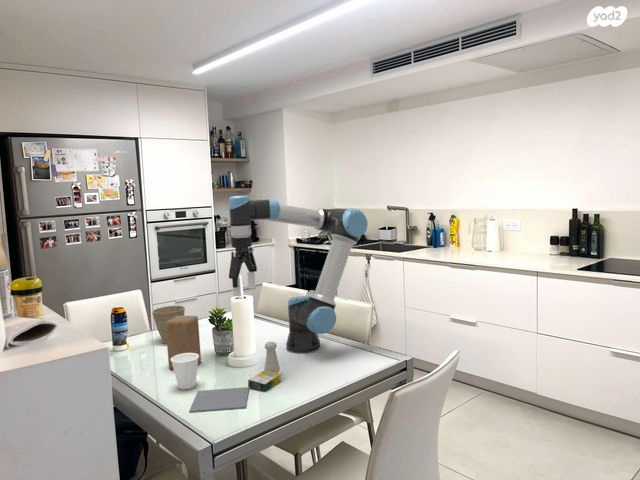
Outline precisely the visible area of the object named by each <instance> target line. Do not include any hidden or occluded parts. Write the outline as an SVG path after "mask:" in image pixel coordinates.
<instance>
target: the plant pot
mask: <svg viewBox="0 0 640 480" xmlns="http://www.w3.org/2000/svg"><path fill="white" fill-rule="evenodd" d="M151 312H152V317H153V320H154V324H155V326H156V329H157V331H158V334H159V337H160V338H161V341H162V343H164V344H166V345H167V336H166V322H167V321H168V320H170V319H172V318H174V317H176V316H185V306H183V305H167V306H161V307H158V308H155V309H153V310H152V311H151Z"/></svg>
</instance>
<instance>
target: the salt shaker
mask: <svg viewBox="0 0 640 480" xmlns="http://www.w3.org/2000/svg"><path fill="white" fill-rule="evenodd" d="M264 349H265V350H266V354H265V361H264V370H263V371H265V370H268V371H271V372H274V371H277V372H281V371H280V370H281V367H280V364H279V360H278V359H279V358H278V355H277V352H276V349H277V343H276V342H275V341H268V342H267V341H266V343H265V344H264ZM277 372H275V373H277Z"/></svg>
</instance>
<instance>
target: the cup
mask: <svg viewBox="0 0 640 480" xmlns="http://www.w3.org/2000/svg"><path fill="white" fill-rule="evenodd" d="M198 357H199V355H198V354H196V353H183V354H179V355H176V356H174V357H172V358H171V361H172V365H173V368H174V369H173V373H174V375H175V379H176V380H175V381H176V383H177V387H178V388H179V389H180V390H190V389H192V388H194V387H195V386H196V384H197V376H198V365H199V364H198Z"/></svg>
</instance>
